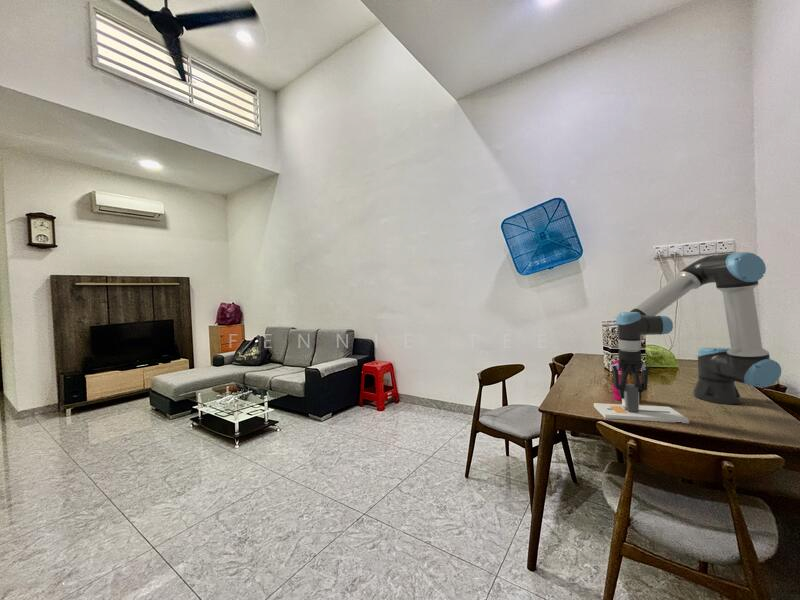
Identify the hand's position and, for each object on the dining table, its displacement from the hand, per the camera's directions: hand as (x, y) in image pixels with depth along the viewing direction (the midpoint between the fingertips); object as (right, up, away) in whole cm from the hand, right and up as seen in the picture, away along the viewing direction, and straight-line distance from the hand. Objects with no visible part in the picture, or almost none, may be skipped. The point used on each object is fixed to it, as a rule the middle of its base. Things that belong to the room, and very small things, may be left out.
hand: (630, 406), depth 129 cm
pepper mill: (+8, -2, +17) cm, 19 cm away
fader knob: (0, -1, 0) cm, 1 cm away
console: (+3, -3, -1) cm, 4 cm away
